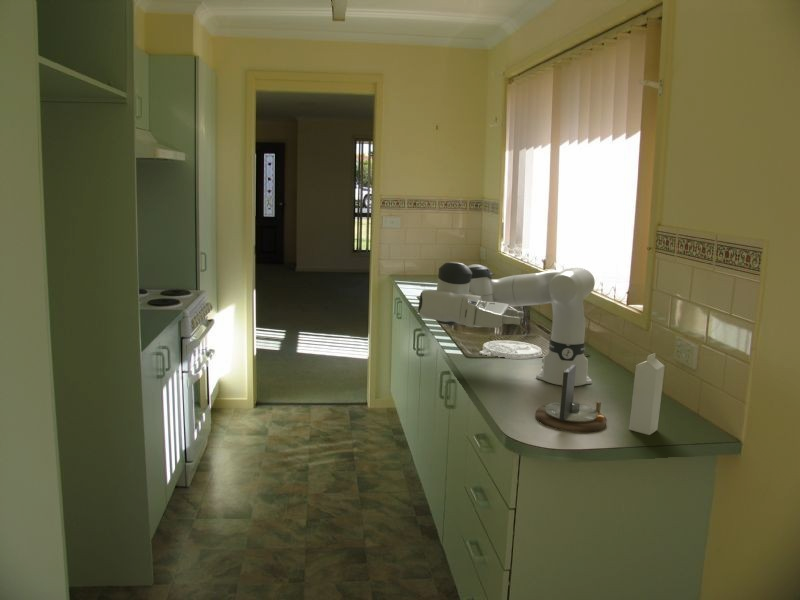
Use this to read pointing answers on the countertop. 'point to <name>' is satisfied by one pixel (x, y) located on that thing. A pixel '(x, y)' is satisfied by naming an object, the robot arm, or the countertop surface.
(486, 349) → the medallion
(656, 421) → the milk
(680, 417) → the countertop surface
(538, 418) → the post base
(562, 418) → the grey finned round piece
